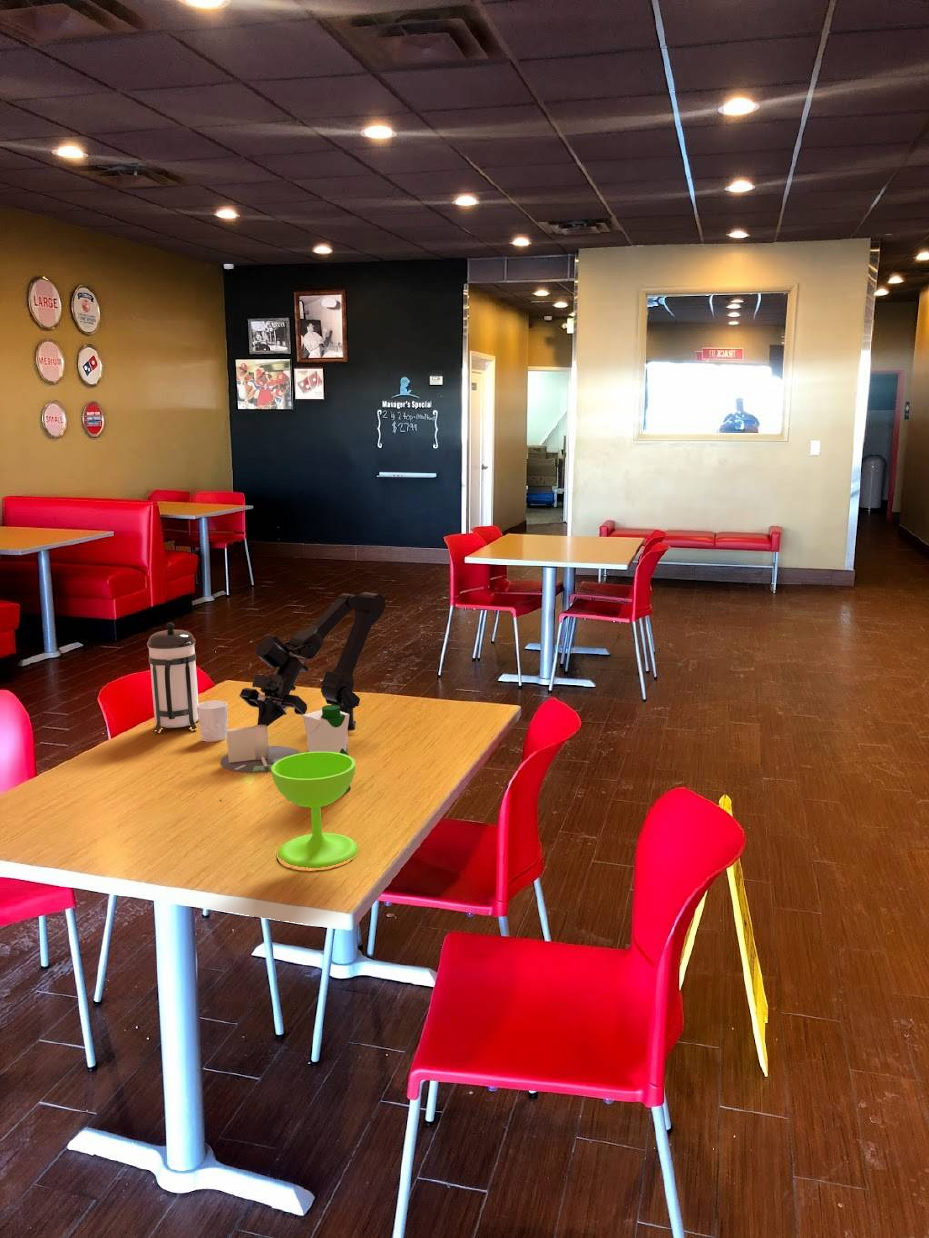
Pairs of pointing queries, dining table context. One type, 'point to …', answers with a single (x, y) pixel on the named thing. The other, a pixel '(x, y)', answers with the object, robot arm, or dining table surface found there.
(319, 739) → the milk carton
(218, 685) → the dining table surface
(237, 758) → the peg key
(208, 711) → the white cup
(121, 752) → the dining table surface
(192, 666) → the coffee press
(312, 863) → the wineglass
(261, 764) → the tuner plate
